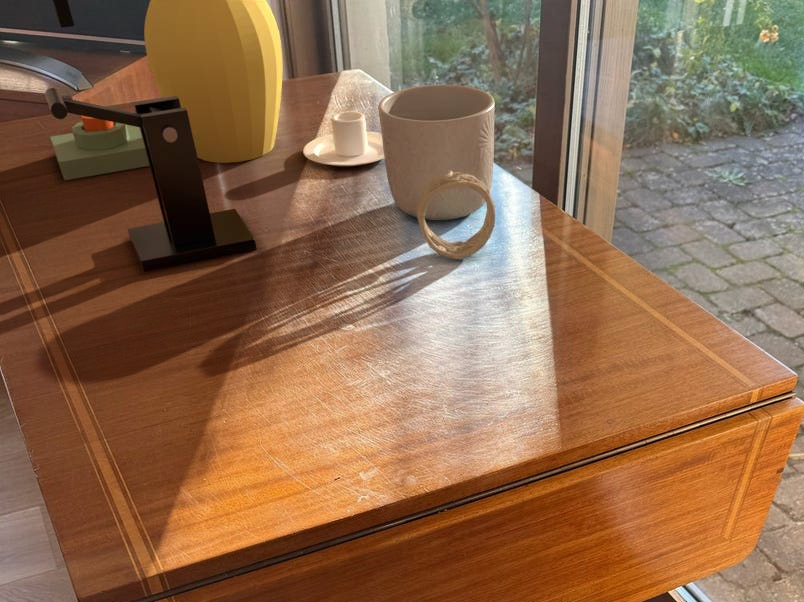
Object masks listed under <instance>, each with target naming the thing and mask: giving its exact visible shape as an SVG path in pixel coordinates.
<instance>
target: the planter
mask: <svg viewBox="0 0 804 602" xmlns="http://www.w3.org/2000/svg"><path fill="white" fill-rule="evenodd" d="M495 104H496V103H495V99H494V97H493V96H492V95H491V94H490V93H488V92H487V91H484V90H483V89H479V88H477V87H473V86H468V85H461V84H428V85H427V84H425V85H419V86H412V87H407V88H403V89H400V90H397V91H394V92H393V93H392V92H391V93H390V94H387V95H386V96H384V97H383V98H382V99H381V100H380V101H379V103H378V106H377V109H378V117H379V125H380V133H381V134H382V142H383V150H384V165H385V171H386V176H387V182H388V187H389V190H390V193H391V197H392V199H393V201H394V203H395V205H396V206H397V207H398V208H399V209H400V210H401V211H403V212H404V213H405V214H408V215H410V216H412V217H414V218H417V219H418V217H417V206H418V200H419V196H420V194H421V192H422V190H423V188H424V187H425V185H426V184H428V183H429V182H430V181H431V180H432V179H434V178H435V177H437V176H440V175H443V174H444V175H445V174H448V172H449V171H452V172H460V173H463V174H468V175H472V176H474V177H475V178H477V179H478V180H479V181H481V182H482V183H483V184H484V185H485V187H486V188H487V189H488V190H489V192H490V193H491V191H492V186H493V175H494V174H493V173H494V162H495V161H494V159H495ZM485 203H486V201H485V199H484V198H483V197H482V196H481V195H480V194H479V193H478V192H476V191H475V190H473V189H470V188H450V189H446V190H444V191H441V192H440V193H439V194H437V195H436V196H435V197H434V198H433V199H432V201H431V202H430V203H429V205H428V206H427V208H426V211H425V215H424V219H425V220H428V221H448V220H449V221H450V220H455V219H459V218H460V219H461V218H463V217H467V216H470V215H472V214H473V213H475V212H476V211H478V210H480V209H481V207H483V206H484V205H486V204H485Z"/></svg>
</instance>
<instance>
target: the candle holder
mask: <svg viewBox="0 0 804 602" xmlns="http://www.w3.org/2000/svg"><path fill="white" fill-rule="evenodd" d="M330 121H331V122H330V123H331V129H332V133H330V134H329V133H328V134H325V135H322V136H319V137H317V138H315V139H313V140H311V141H309V142H307V144H305V145H304V147H303V149H302V153H303V155H304V157H305V158H307V159H308V160H310V161H311V162H314V163H317V164H321V165H326V166H332V167H333V166H334V167H358V166H365V165H369V164H372V163H376V162H378V161H381V160H383V159H384V160H385V158H384V150H383V142H382V134H381V132H377V131H369V130H368V131H367V123H366V117H365V115H364V114H363V113H362V112H359V111H352V110H351V111H341V112H338V113H335V114H333V115H332V116H331V119H330Z"/></svg>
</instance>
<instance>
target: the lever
mask: <svg viewBox="0 0 804 602" xmlns="http://www.w3.org/2000/svg"><path fill="white" fill-rule="evenodd" d="M44 97H45V99H46V102H47V105H48V108H49V110H50V113H51V115H52V116H53V117H54V118H55V119H58V120H63V119H64V120H65V118H67V115H68V114H73V115H77V116H80V117H81V116H86V117H91V118H96V119H101V120H106V121H111V122H116V123H121V124H125V125H130V126H135V127H140V128H143V124H142V120H141V116H140V115H141V114H137V113H136V112H132V111H127V110H122V109H117V108H113V107H108V106H104V105H99V104H95V103H90V102H85V101H81V100H75V99H70V98H66V97H63V96H62V93H61V91H59V90H58V89H57V88H55V87H49V88H47V89H46V91H45V93H44ZM159 111H165V110H162V109H157V108H153V107H149V113H153V112H159Z"/></svg>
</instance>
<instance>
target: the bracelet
mask: <svg viewBox="0 0 804 602" xmlns="http://www.w3.org/2000/svg"><path fill="white" fill-rule="evenodd" d="M450 188H470V189H473V190H475V191H476V192H478V193H479V194H480V195H481V196H482V197H483V198H484V199H485V201H486V202H485V203H486V204H485V205H486V212H485V217H484V222H483V224H482V226H481V228H480V229H479V230H478V231H477V232H476V233H475V234H473V235H472V236H470V237H469V238H468V239H466V241H462V240H459V241H455V242H451V241H447V240H445V239H443V238H441V237H439V236H438V235H437V234H435V233H434V232H433V231H432V230H431V229H430V228H429V226H428V224H427V222H426V219H424V215H425V211H426V208H427V206H428V205H429V203H430V202H431V201H432V199H433V198H434V197H435V196H436V195H437V194H439V193H440V192H441V191H444V190H446V189H450ZM417 217H418V218H417ZM417 217H416V218H417V221H418V224H419V227H420V231H421V236H423V239H424V240H425V242H426V243H427V245H428V246H429V248H430V249H432V250H433V251H434V252H436V254H437V255H439V256H441V257H446V258H449V259H453V260H460V259H461V260H463V259H466V258H469V257H471V256H472V255H475V254H476V253H477V252H479V251H480V250H482V248H483V247H484V246H485V245H487V242H488V241H489V240H490V238H491V236H492V233H493V231H494V229H495V222H496V205H495V204H494V200H493V196H492V195H491V191H490V192H489V190H488V189H487V188H486V187H485V185H484V184H483V183H482V182H481V181H479V180H478V179H477V178H475V177H474V176H472V175H468V174H463V173H460V172H452V171H449V172H448V174H445V175H444V174H443V175H440V176H437V177H435V178H434V179H432V180H431V181H430V182H429V183H428V184H426V185H425V187H424V188H423V190H422V192H421V194H420V196H419V200H418V206H417Z"/></svg>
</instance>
